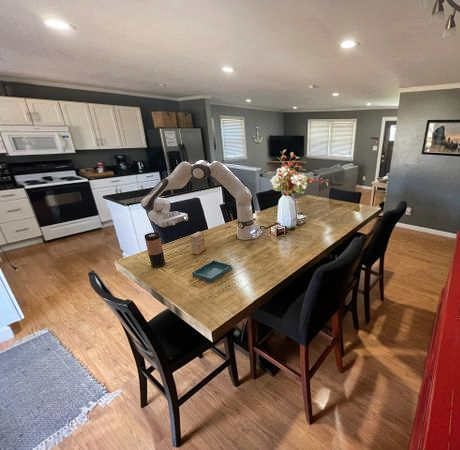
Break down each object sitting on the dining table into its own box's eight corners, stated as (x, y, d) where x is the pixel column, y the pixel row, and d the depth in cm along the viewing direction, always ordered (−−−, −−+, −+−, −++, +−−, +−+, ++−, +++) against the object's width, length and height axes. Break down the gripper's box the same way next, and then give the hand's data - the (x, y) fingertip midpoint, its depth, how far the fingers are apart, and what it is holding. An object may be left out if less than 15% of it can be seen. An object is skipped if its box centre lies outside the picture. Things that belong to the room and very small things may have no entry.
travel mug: (149, 265, 145) (142, 234, 138) (163, 260, 150) (156, 231, 143) (153, 269, 140) (146, 238, 133) (167, 264, 145) (161, 234, 138)
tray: (213, 263, 147) (213, 260, 146) (232, 268, 141) (231, 265, 140) (192, 276, 133) (192, 272, 132) (211, 282, 128) (211, 278, 127)
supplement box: (198, 254, 158) (196, 236, 153) (192, 254, 159) (189, 236, 154) (205, 249, 166) (203, 232, 161) (199, 248, 166) (197, 231, 162)
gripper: (152, 218, 156) (166, 221, 151) (178, 210, 174) (192, 213, 168) (153, 227, 159) (168, 230, 153) (180, 218, 176) (193, 221, 170)
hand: (181, 221), depth 161 cm, fingers open, 8 cm apart
